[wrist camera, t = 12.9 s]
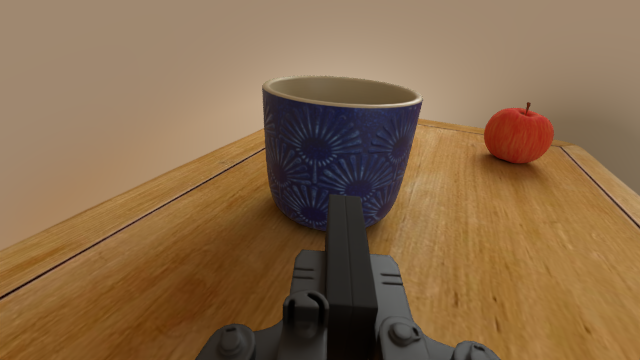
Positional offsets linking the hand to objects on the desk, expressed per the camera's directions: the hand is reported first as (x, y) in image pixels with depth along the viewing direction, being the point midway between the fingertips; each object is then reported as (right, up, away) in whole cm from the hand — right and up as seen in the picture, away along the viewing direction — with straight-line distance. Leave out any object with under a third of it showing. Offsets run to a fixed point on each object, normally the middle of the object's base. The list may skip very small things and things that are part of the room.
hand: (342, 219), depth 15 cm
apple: (+26, +5, +29) cm, 39 cm away
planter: (0, -1, +14) cm, 14 cm away
